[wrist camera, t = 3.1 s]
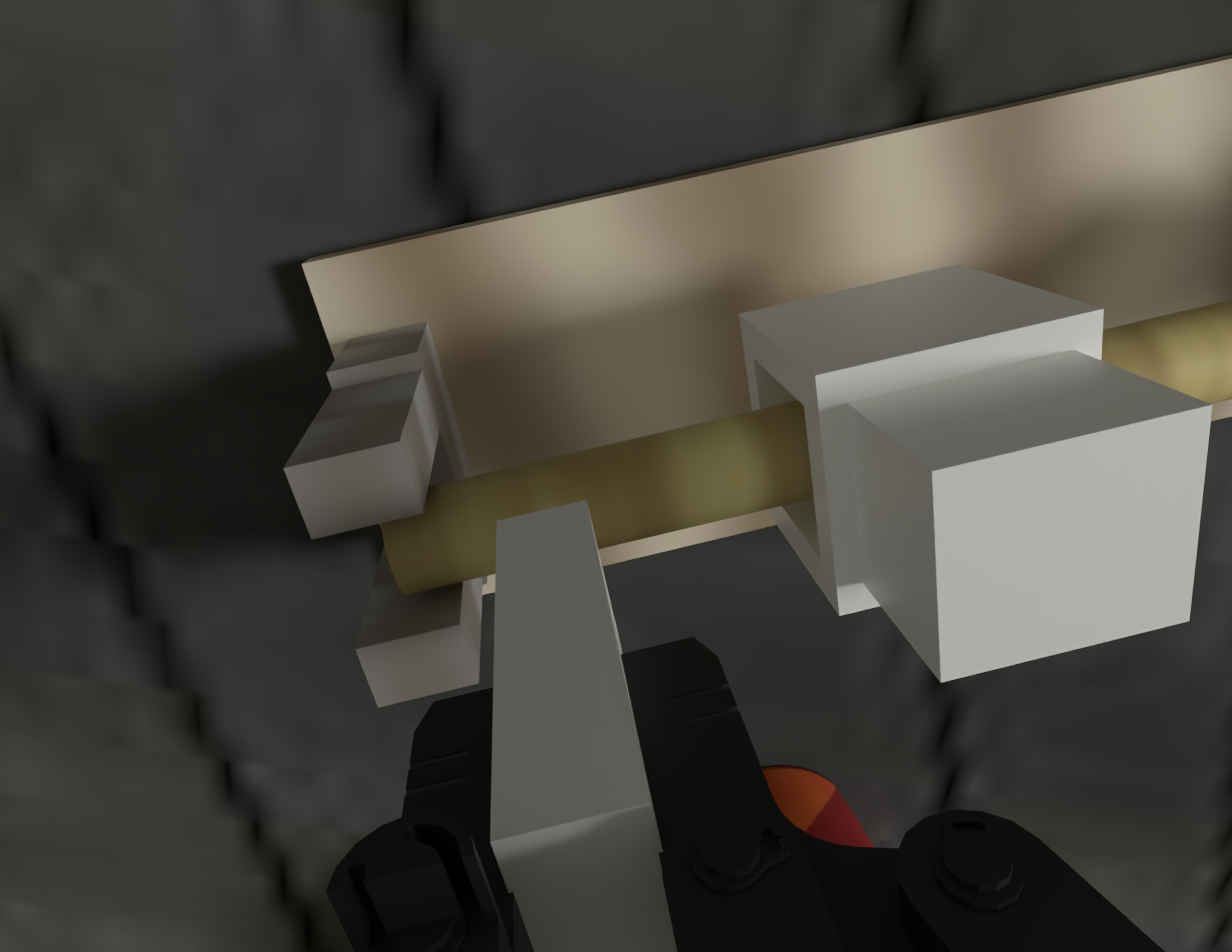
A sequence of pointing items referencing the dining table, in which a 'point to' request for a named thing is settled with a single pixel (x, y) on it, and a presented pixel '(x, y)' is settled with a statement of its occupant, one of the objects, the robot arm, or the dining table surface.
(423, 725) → the robot arm
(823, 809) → the coffee cup
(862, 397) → the sleeve
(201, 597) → the dining table surface
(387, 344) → the cord rig
